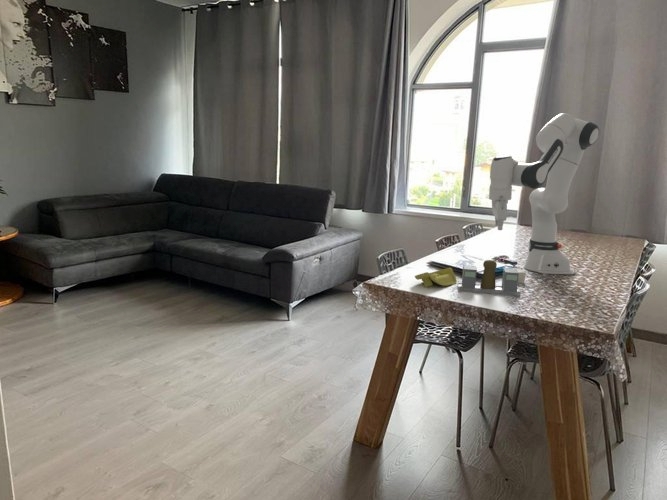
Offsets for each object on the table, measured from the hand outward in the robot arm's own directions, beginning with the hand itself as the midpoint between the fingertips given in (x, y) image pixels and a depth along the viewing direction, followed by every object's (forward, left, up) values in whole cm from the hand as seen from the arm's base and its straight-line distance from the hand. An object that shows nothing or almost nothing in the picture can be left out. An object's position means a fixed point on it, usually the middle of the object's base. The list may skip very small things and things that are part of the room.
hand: (498, 227), depth 207 cm
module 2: (-5, +13, -23) cm, 27 cm away
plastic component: (+25, +8, -25) cm, 36 cm away
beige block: (-11, -6, -25) cm, 28 cm away
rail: (+3, +13, -25) cm, 28 cm away
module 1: (+11, +13, -23) cm, 29 cm away
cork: (+3, +13, -23) cm, 26 cm away
